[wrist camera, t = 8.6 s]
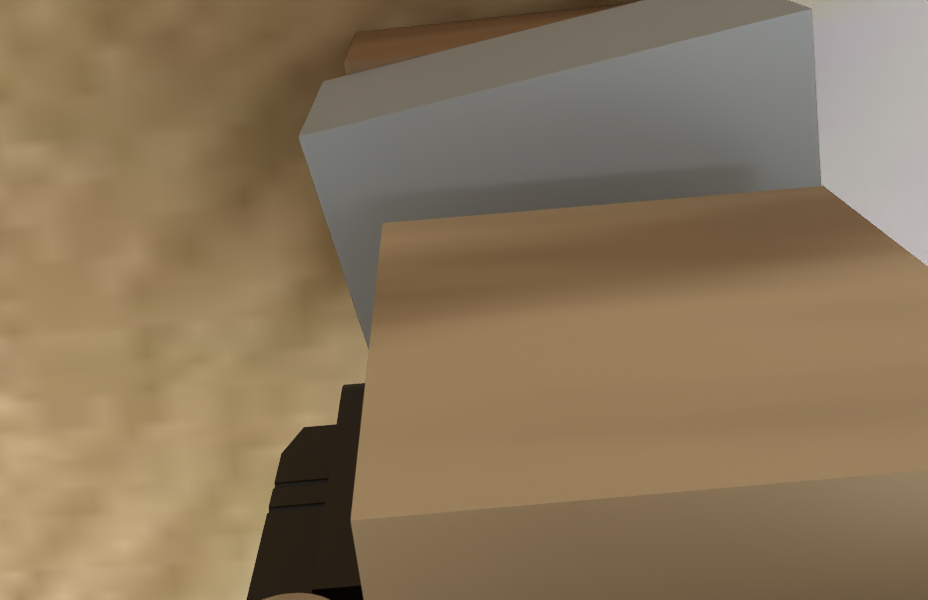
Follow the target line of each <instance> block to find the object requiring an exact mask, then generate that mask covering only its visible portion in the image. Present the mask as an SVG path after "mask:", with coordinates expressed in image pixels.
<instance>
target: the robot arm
mask: <svg viewBox="0 0 928 600" xmlns="http://www.w3.org/2000/svg"><path fill="white" fill-rule="evenodd" d="M364 391H365V383H361V384H349V385H343V387H342V392H341V399H340V406H339V412H338V419H337V425H325V426H314V427H304V428H303V429H302V430H301V431H300V433H299V434H298V435H297V436H296V437H295V438H294V440H293V441H292V442H291V443H290V444H289V445H288V447H287V448H286V449H285V450H284V451H283V452H282V454H281V458H280V462H279V466H278V470H277V475H276V479H275V488H274V489H273V491H272V496H271V500H270V504H269V513H267V516H266V521H265V525H264V529H263V533H262V537H261V542H260V546H259V550H258V554H257V558H256V563H255V567H254V571H253V575H252V579H251V583H250V588H249V592H248V596H247V600H364V599H363V593H362V587H361V581H360V575H359V569H358V563H357V557H356V551H355V545H354V539H353V533H352V527H351V521H350V520H351V511H352V502H353V492H354V483H355V474H356V465H357V455H358V446H359V437H360V428H361V418H362V409H363V400H364Z"/></svg>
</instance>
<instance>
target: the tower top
mask: <svg viewBox="0 0 928 600" xmlns="http://www.w3.org/2000/svg"><path fill="white" fill-rule="evenodd" d="M298 138H299V141H300V144H301V147H302V150H303V153H304V156H305V159H306V162H307V165H308V168H309V171H310V174H311V177H312V180H313V183H314V186H315V189H316V192H317V195H318V198H319V201H320V204H321V207H322V210H323V213H324V216H325V219H326V222H327V225H328V228H329V231H330V234H331V237H332V240H333V243H334V246H335V249H336V252H337V256H338V259H339V262H340V265H341V268H342V271H343V274H344V277H345V280H346V283H347V286H348V289H349V292H350V295H351V298H352V301H353V304H354V307H355V310H356V313H357V316H358V319H359V322H360V325H361V328H362V331H363V334H364V337H365V340H366V343H367V346H368V349H369V344H370V335H371V326H372V316H373V307H374V298H375V289H376V279H377V270H378V261H379V252H380V242H381V233H382V224H383V223H390V222H402V221H414V220H426V219H438V218H450V217H462V216H474V215H485V214H497V213H509V212H521V211H533V210H545V209H557V208H569V207H580V206H592V205H604V204H616V203H628V202H640V201H652V200H664V199H675V198H687V197H699V196H711V195H723V194H735V193H747V192H758V191H770V190H782V189H794V188H806V187H818V186H821V176H820V157H819V138H818V119H817V100H816V81H815V62H814V43H813V24H812V9H811V8H808V7H805V6H802V5H800V4H797V3H794V2H791V1H788V0H642V1H638V2H634V3H631V4H627V5H623V6H619V7H615V8H611V9H607V10H603V11H599V12H595V13H591V14H587V15H583V16H579V17H575V18H571V19H567V20H563V21H559V22H555V23H552V24H548V25H544V26H540V27H536V28H532V29H528V30H524V31H520V32H516V33H512V34H508V35H504V36H500V37H496V38H492V39H488V40H484V41H480V42H476V43H473V44H469V45H465V46H461V47H457V48H453V49H449V50H445V51H441V52H437V53H433V54H429V55H425V56H421V57H417V58H413V59H409V60H405V61H401V62H397V63H394V64H390V65H386V66H382V67H378V68H374V69H370V70H366V71H362V72H358V73H354V74H350V75H346V76H342V77H338V78H334V79H330V80H326V81H323V83H322V85H321V87H320V89H319V92H318V94H317V96H316V98H315V100H314V103H313V105H312V107H311V109H310V112H309V114H308V116H307V118H306V120H305V123H304V125H303V127H302V129H301V132H300V134H299V136H298Z"/></svg>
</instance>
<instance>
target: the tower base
mask: <svg viewBox="0 0 928 600" xmlns="http://www.w3.org/2000/svg"><path fill="white" fill-rule="evenodd" d="M627 4H631V3H625V4H616V5H607V6H597V7H588V8H579V9H570V10H560V11H551V12H542V13H533V14H523V15H514V16H505V17H496V18H486V19H477V20H468V21H458V22H449V23H440V24H431V25H421V26H412V27H403V28H394V29H384V30H375V31H366V32H357V33H356V34H355V36H354V39H353V41H352V44H351V46H350V49H349V51H348V54H347V56H346V59H345V61H344V68H345V74H346V75H350V74H354V73H358V72H362V71H366V70H370V69H374V68H378V67H382V66H386V65H390V64H394V63H397V62H401V61H405V60H409V59H413V58H417V57H421V56H425V55H429V54H433V53H437V52H441V51H445V50H449V49H453V48H457V47H461V46H465V45H469V44H473V43H476V42H480V41H484V40H488V39H492V38H496V37H500V36H504V35H508V34H512V33H516V32H520V31H524V30H528V29H532V28H536V27H540V26H544V25H548V24H552V23H555V22H559V21H563V20H567V19H571V18H575V17H579V16H583V15H587V14H591V13H595V12H599V11H603V10H607V9H611V8H615V7H619V6H623V5H627Z"/></svg>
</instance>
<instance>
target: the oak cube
mask: <svg viewBox="0 0 928 600" xmlns="http://www.w3.org/2000/svg"><path fill="white" fill-rule="evenodd" d="M350 521H351V527H352V533H353V539H354V545H355V551H356V557H357V563H358V569H359V575H360V581H361V587H362V593H363V599H364V600H928V267H927V266H926V265H925V264H924V263H922V262H921V261H920V260H918V259H917V258H916V257H914V256H913V255H912V254H911V253H909V252H908V251H907V250H905V249H904V248H903V247H902V246H900V245H899V244H898V243H896V242H895V241H894V240H892V239H891V238H890V237H889V236H887V235H886V234H885V233H883V232H882V231H881V230H880V229H878V228H877V227H876V226H874V225H873V224H872V223H870V222H869V221H868V220H867V219H865V218H864V217H863V216H861V215H860V214H859V213H857V212H856V211H855V210H854V209H852V208H851V207H850V206H848V205H847V204H846V203H845V202H843V201H842V200H841V199H839V198H838V197H837V196H835V195H834V194H833V193H832V192H830V191H829V190H828V189H826V188H825V187H824V186H818V187H806V188H794V189H782V190H770V191H758V192H747V193H735V194H723V195H711V196H699V197H687V198H675V199H664V200H652V201H640V202H628V203H616V204H604V205H592V206H580V207H569V208H557V209H545V210H533V211H521V212H509V213H497V214H485V215H474V216H462V217H450V218H438V219H426V220H414V221H402V222H390V223H383V224H382V233H381V242H380V252H379V261H378V270H377V279H376V289H375V298H374V307H373V316H372V326H371V335H370V344H369V353H368V363H367V372H366V381H365V391H364V400H363V409H362V418H361V428H360V437H359V446H358V455H357V465H356V474H355V483H354V492H353V502H352V511H351V520H350Z"/></svg>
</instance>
